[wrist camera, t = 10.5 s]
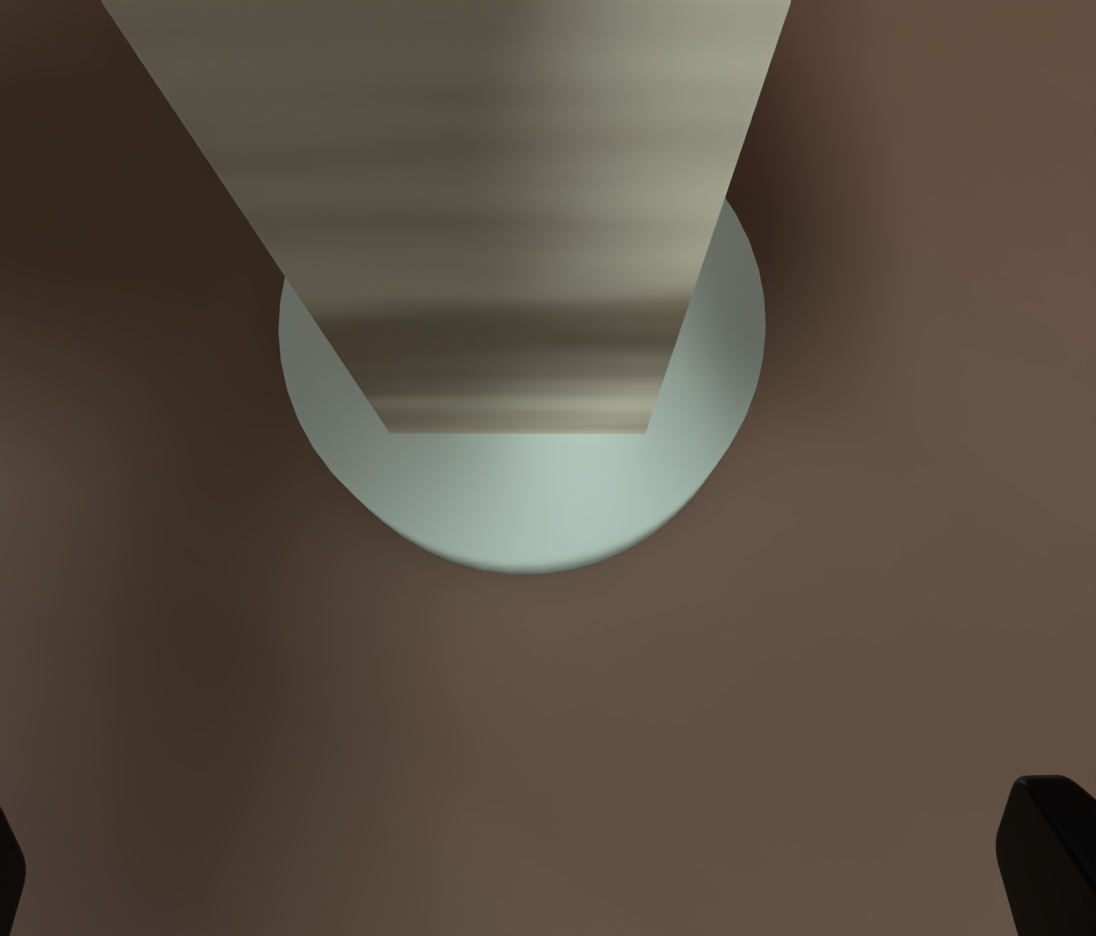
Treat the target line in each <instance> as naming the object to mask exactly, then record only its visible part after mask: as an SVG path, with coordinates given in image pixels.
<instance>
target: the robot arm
mask: <svg viewBox="0 0 1096 936" xmlns="http://www.w3.org/2000/svg"><path fill="white" fill-rule="evenodd" d="M996 855H997V861H998V865H999V869H1000V872H1001V876H1002V880H1003V883H1004V887H1005V890H1006V894H1007V897H1008V901H1009V905H1010V908H1011V912H1012V915H1013V919H1014V923H1015V926H1016V930H1017V933H1018V936H1096V799H1095V798H1094V797H1092V796H1091V795H1090V794H1089V793H1088V792H1086V791H1085V790H1084V789H1083V788H1082V787H1081V786H1079V785H1078V784H1077V783H1076V782H1074V781H1073V780H1071V779H1069V778H1067V777H1065V776H1061V775H1029V776H1021V777H1019V778H1018V779H1017V780H1016V781H1015V782H1014V784H1013V786H1012V788H1011V791H1010V794H1009V798H1008V801H1007V804H1006V807H1005V810H1004V813H1003V816H1002V819H1001V822H1000V825H999V828H998V832H997V836H996ZM25 875H26V865H25V859H24V855H23V853H22V851H21V848H20V846H19V844H18V842H17V840H16V838H15V836H14V833H13V831H12V829H11V827H10V825H9V823H8V821H7V818H6V816H5V814H4V812H3V810H2V808H1V807H0V936H10V932H11V929H12V925H13V922H14V918H15V915H16V911H17V908H18V904H19V901H20V897H21V894H22V890H23V887H24V882H25Z"/></svg>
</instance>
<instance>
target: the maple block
mask: <svg viewBox="0 0 1096 936" xmlns="http://www.w3.org/2000/svg"><path fill="white" fill-rule="evenodd" d="M101 2H102V3H103V5H104V6H105V8H106V9H107V11H108V12H109V14H110V15H111V17H112V18H113V20H114V21H115V23H116V24H117V26H118V27H119V29H120V30H121V32H122V33H123V35H124V36H125V38H126V39H127V41H128V42H129V44H130V45H131V47H132V48H133V50H134V51H135V53H136V54H137V56H138V57H139V59H140V60H141V62H142V63H143V65H144V66H145V68H146V69H147V71H148V72H149V74H150V75H151V77H152V78H153V80H154V81H155V83H156V84H157V86H158V87H159V89H160V90H161V92H162V93H163V95H164V96H165V98H166V99H167V101H168V102H169V104H170V105H171V107H172V108H173V110H174V111H175V113H176V114H177V116H178V117H179V119H180V120H181V122H182V123H183V125H184V126H185V128H186V129H187V131H188V132H189V134H190V135H191V137H192V138H193V140H194V141H195V143H196V144H197V146H198V147H199V149H200V150H201V152H202V153H203V155H204V156H205V157H206V159H207V160H208V162H209V163H210V165H211V166H212V168H213V169H214V171H215V172H216V174H217V175H218V177H219V178H220V180H221V181H222V183H223V184H224V186H225V187H226V189H227V190H228V192H229V193H230V195H231V196H232V198H233V199H234V201H235V202H236V204H237V205H238V207H239V208H240V210H241V211H242V213H243V214H244V216H245V217H246V219H247V220H248V222H249V223H250V225H251V226H252V228H253V229H254V231H255V232H256V234H257V235H258V237H259V238H260V240H261V241H262V243H263V244H264V246H265V247H266V249H267V250H268V252H269V253H270V255H271V256H272V258H273V259H274V261H275V262H276V264H277V265H278V267H279V268H280V270H281V271H282V273H283V274H284V276H285V277H286V279H287V280H288V282H289V283H290V285H291V286H292V288H293V289H294V291H295V292H296V294H297V295H298V297H299V298H300V300H301V301H302V303H303V304H304V306H305V307H306V309H307V310H308V312H309V313H310V315H311V316H312V318H313V319H314V321H315V322H316V324H317V325H318V327H319V328H320V330H321V331H322V333H323V334H324V336H325V337H326V339H327V340H328V342H329V343H330V345H331V346H332V347H333V349H334V350H335V352H336V353H337V355H338V356H339V358H340V359H341V361H342V362H343V364H344V365H345V367H346V368H347V370H348V371H349V373H350V374H351V376H352V377H353V379H354V380H355V382H356V383H357V385H358V386H359V388H360V389H361V391H362V392H363V394H364V395H365V397H366V398H367V400H368V401H369V403H370V404H371V406H372V407H373V409H374V410H375V412H376V413H377V415H378V416H379V418H380V419H381V421H382V422H383V424H384V425H385V427H386V428H387V430H388V431H389V433H390V434H646V431H647V428H648V425H649V422H650V419H651V416H652V413H653V410H654V407H655V404H656V401H657V398H658V395H659V392H660V389H661V386H662V383H663V380H664V377H665V374H666V371H667V368H668V365H669V362H670V359H671V356H672V353H673V350H674V348H675V345H676V342H677V339H678V336H679V333H680V330H681V327H682V324H683V321H684V318H685V315H686V312H687V309H688V306H689V303H690V300H691V297H692V294H693V291H694V288H695V285H696V282H697V279H698V276H699V273H700V270H701V267H702V264H703V261H704V258H705V255H706V252H707V250H708V247H709V244H710V241H711V238H712V235H713V232H714V229H715V226H716V223H717V220H718V217H719V214H720V211H721V208H722V205H723V202H724V199H725V196H726V193H727V190H728V187H729V184H730V181H731V178H732V175H733V172H734V169H735V166H736V163H737V160H738V157H739V154H740V151H741V149H742V146H743V143H744V140H745V137H746V134H747V131H748V128H749V125H750V122H751V119H752V116H753V113H754V110H755V107H756V104H757V101H758V98H759V95H760V92H761V89H762V86H763V83H764V80H765V77H766V74H767V71H768V68H769V65H770V62H771V59H772V56H773V53H774V51H775V48H776V45H777V42H778V39H779V36H780V33H781V30H782V27H783V24H784V21H785V18H786V15H787V12H788V9H789V6H790V3H791V0H101Z"/></svg>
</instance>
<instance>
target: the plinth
mask: <svg viewBox="0 0 1096 936" xmlns="http://www.w3.org/2000/svg"><path fill="white" fill-rule="evenodd" d="M765 331H766V324H765V305H764V295H763V289H762V284H761V279H760V274H759V269H758V266H757V263H756V260H755V257H754V254H753V251H752V248H751V245H750V242H749V239H748V237H747V235H746V233H745V231H744V229H743V227H742V225H741V223H740V221H739V219H738V217H737V215H736V213H735V212H734V210H733V209H732V207H731V206H730V205H729V203H728V202H727V200H726V199H724V202H723V205H722V208H721V211H720V214H719V217H718V220H717V223H716V226H715V229H714V232H713V235H712V238H711V241H710V244H709V247H708V250H707V252H706V255H705V258H704V261H703V264H702V267H701V270H700V273H699V276H698V279H697V282H696V285H695V288H694V291H693V294H692V297H691V300H690V303H689V306H688V309H687V312H686V315H685V318H684V321H683V324H682V327H681V330H680V333H679V336H678V339H677V342H676V345H675V348H674V350H673V353H672V356H671V359H670V362H669V365H668V368H667V371H666V374H665V377H664V380H663V383H662V386H661V389H660V392H659V395H658V398H657V401H656V404H655V407H654V410H653V413H652V416H651V419H650V422H649V425H648V428H647V431H646V434H390V433H389V431H388V430H387V428H386V427H385V425H384V424H383V422H382V421H381V419H380V418H379V416H378V415H377V413H376V412H375V410H374V409H373V407H372V406H371V404H370V403H369V401H368V400H367V398H366V397H365V395H364V394H363V392H362V391H361V389H360V388H359V386H358V385H357V383H356V382H355V380H354V379H353V377H352V376H351V374H350V373H349V371H348V370H347V368H346V367H345V365H344V364H343V362H342V361H341V359H340V358H339V356H338V355H337V353H336V352H335V350H334V349H333V347H332V346H331V345H330V343H329V342H328V340H327V339H326V337H325V336H324V334H323V333H322V331H321V330H320V328H319V327H318V325H317V324H316V322H315V321H314V319H313V318H312V316H311V315H310V313H309V312H308V310H307V309H306V307H305V306H304V304H303V303H302V301H301V300H300V298H299V297H298V295H297V294H296V292H295V291H294V289H293V288H292V286H291V285H290V283H289V282H288V280H287V279H286V277H285V280H284V285H283V290H282V295H281V300H280V314H279V344H280V356H281V364H282V369H283V373H284V378H285V382H286V386H287V391H288V394H289V397H290V399H291V402H292V404H293V407H294V410H295V412H296V415H297V418H298V420H299V422H300V424H301V426H302V428H303V430H304V431H305V433H306V435H307V437H308V439H309V441H310V442H311V444H312V446H313V448H314V449H315V451H316V452H317V453H318V455H319V456H320V457H321V459H322V460H323V461H324V463H325V464H326V465H327V467H328V468H329V469H330V471H331V472H332V473H333V474H334V475H335V476H336V477H337V478H338V479H339V480H340V481H341V482H342V484H343V485H344V486H345V487H346V488H347V489H348V490H349V491H350V492H351V493H352V494H353V495H354V496H355V497H356V498H357V499H359V500H360V501H361V502H362V503H363V504H364V505H365V506H366V507H367V508H368V509H369V510H370V511H371V512H372V513H373V514H374V515H376V516H377V517H378V518H379V519H380V520H381V521H382V522H383V523H385V524H386V525H387V526H389V527H390V528H391V529H392V530H394V531H395V532H396V533H398V534H399V535H400V536H401V537H403V538H404V539H406V540H408V541H409V542H411V543H413V544H415V545H416V546H418V547H420V548H422V549H423V550H425V551H427V552H429V553H431V554H434V555H436V556H438V557H441V558H443V559H446V560H448V561H451V562H453V563H456V564H460V565H463V566H467V567H471V568H475V569H479V570H482V571H490V572H498V573H506V574H545V573H553V572H560V571H567V570H572V569H576V568H579V567H583V566H587V565H590V564H594V563H598V562H600V561H603V560H605V559H607V558H610V557H612V556H614V555H617V554H619V553H622V552H624V551H626V550H628V549H629V548H631V547H633V546H634V545H636V544H638V543H639V542H641V541H643V540H645V539H646V538H648V537H650V536H651V535H652V534H653V533H655V532H656V531H657V530H659V529H660V528H661V527H662V526H664V525H665V524H666V523H668V522H669V521H670V520H671V519H673V517H674V516H675V515H676V514H677V513H678V512H679V511H680V510H681V509H682V508H683V507H684V506H685V505H686V504H687V503H688V502H689V501H690V500H691V499H692V498H693V496H694V495H695V494H696V492H697V491H698V490H699V488H700V487H701V486H702V484H703V483H704V482H705V480H706V479H707V478H708V476H709V475H710V473H711V472H712V470H713V469H714V468H715V466H716V465H717V463H718V462H719V460H720V459H721V457H722V456H723V454H724V453H725V452H726V450H727V449H728V447H729V446H730V444H731V442H732V441H733V439H734V437H735V435H736V433H737V431H738V430H739V428H740V426H741V424H742V422H743V420H744V419H745V417H746V414H747V411H748V409H749V406H750V403H751V401H752V398H753V396H754V393H755V390H756V387H757V383H758V379H759V374H760V370H761V365H762V361H763V354H764V342H765Z"/></svg>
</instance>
